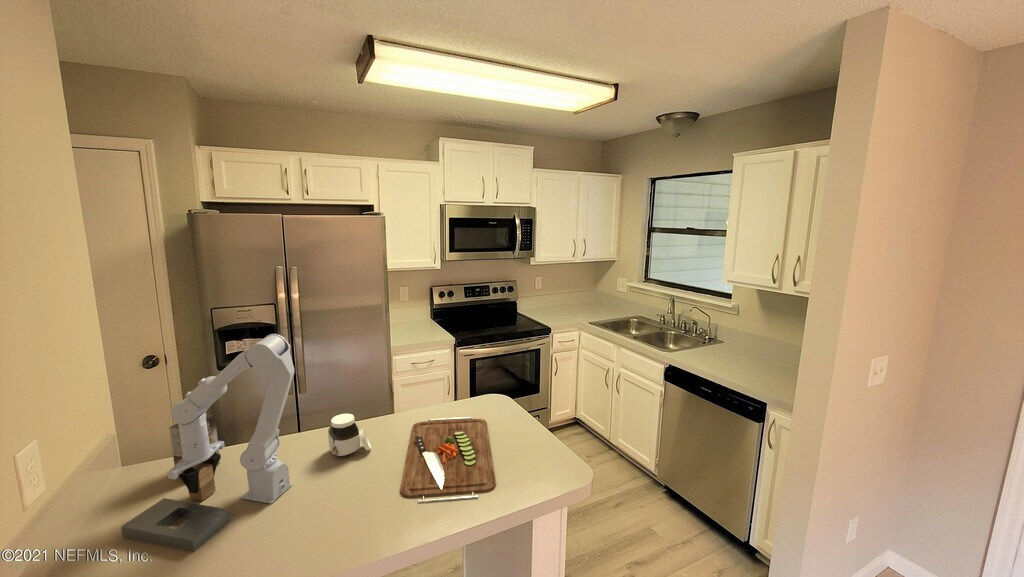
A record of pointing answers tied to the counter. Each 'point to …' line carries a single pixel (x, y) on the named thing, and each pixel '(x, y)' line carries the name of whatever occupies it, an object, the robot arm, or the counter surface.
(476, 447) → the chopping board
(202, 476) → the square peg
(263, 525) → the counter surface
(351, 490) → the counter surface
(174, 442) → the coffee box
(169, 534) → the grey peg hole board
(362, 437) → the spread jar
